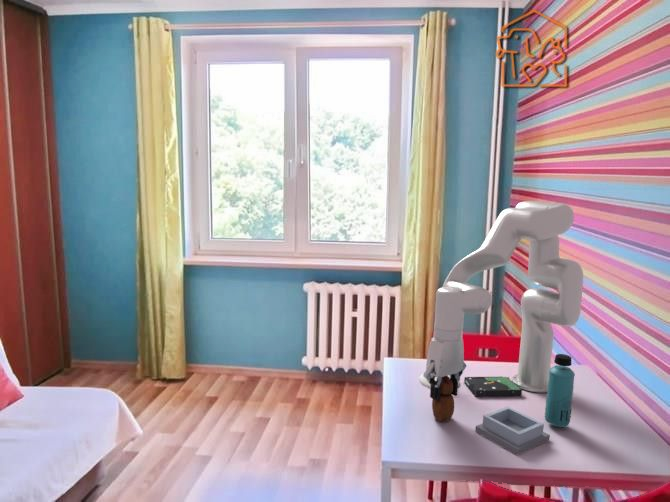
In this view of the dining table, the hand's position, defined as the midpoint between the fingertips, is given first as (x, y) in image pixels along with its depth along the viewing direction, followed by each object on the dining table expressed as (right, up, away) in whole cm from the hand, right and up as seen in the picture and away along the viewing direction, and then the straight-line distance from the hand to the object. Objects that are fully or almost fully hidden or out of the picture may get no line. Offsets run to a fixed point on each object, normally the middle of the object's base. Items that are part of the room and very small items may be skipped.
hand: (443, 395), depth 138 cm
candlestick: (+4, -3, +25) cm, 26 cm away
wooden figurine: (0, -7, +1) cm, 7 cm away
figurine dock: (+16, -8, -7) cm, 19 cm away
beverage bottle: (+30, -8, -1) cm, 31 cm away
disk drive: (+20, -5, +21) cm, 29 cm away
